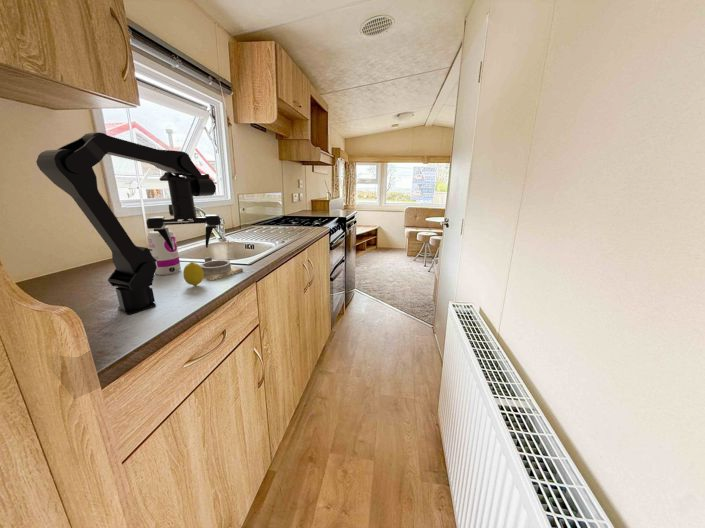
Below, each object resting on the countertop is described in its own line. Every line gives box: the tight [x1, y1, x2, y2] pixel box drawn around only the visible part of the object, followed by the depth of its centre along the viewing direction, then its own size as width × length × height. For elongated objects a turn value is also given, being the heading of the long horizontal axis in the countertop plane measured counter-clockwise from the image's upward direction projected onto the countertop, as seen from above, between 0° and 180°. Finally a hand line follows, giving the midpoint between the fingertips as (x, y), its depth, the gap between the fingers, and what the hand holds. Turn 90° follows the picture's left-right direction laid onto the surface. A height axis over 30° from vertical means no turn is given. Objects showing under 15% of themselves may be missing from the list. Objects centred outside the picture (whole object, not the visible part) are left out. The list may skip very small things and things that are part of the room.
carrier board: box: [199, 256, 244, 281], centre depth 102 cm, size 12×15×4 cm
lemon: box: [182, 261, 204, 287], centre depth 87 cm, size 6×6×8 cm
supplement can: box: [146, 229, 182, 276], centre depth 99 cm, size 8×8×15 cm
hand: (190, 248), depth 86 cm, fingers open, 9 cm apart
